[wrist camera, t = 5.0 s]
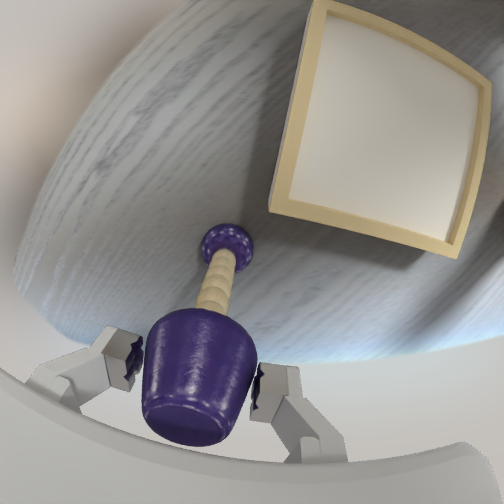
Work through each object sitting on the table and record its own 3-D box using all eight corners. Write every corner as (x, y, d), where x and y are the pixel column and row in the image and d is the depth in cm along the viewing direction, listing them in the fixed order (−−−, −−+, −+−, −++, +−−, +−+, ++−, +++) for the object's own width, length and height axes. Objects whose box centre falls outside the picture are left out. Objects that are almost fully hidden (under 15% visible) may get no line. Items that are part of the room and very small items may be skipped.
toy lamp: (233, 207, 22) (163, 358, 6) (273, 250, 23) (284, 438, 7) (191, 246, 23) (91, 408, 7) (230, 284, 24) (189, 468, 9)
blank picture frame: (307, 16, 16) (314, -5, 12) (467, 86, 16) (492, 82, 13) (268, 200, 21) (268, 211, 18) (434, 243, 22) (456, 259, 18)
